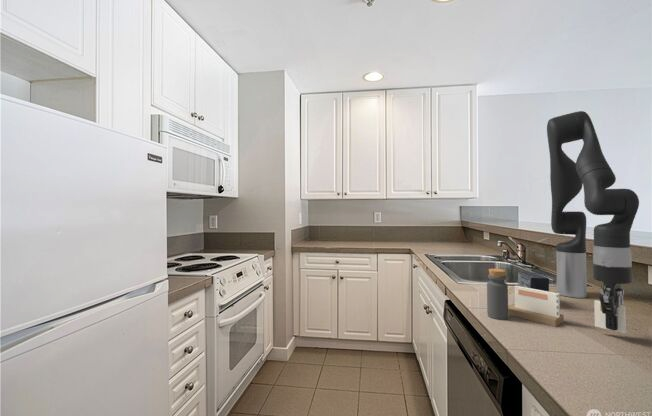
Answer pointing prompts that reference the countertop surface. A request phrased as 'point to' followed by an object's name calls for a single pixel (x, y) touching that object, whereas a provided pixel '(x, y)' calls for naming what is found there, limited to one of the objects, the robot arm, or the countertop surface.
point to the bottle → (497, 295)
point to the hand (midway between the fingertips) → (612, 327)
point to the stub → (601, 317)
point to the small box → (533, 281)
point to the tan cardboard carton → (536, 306)
